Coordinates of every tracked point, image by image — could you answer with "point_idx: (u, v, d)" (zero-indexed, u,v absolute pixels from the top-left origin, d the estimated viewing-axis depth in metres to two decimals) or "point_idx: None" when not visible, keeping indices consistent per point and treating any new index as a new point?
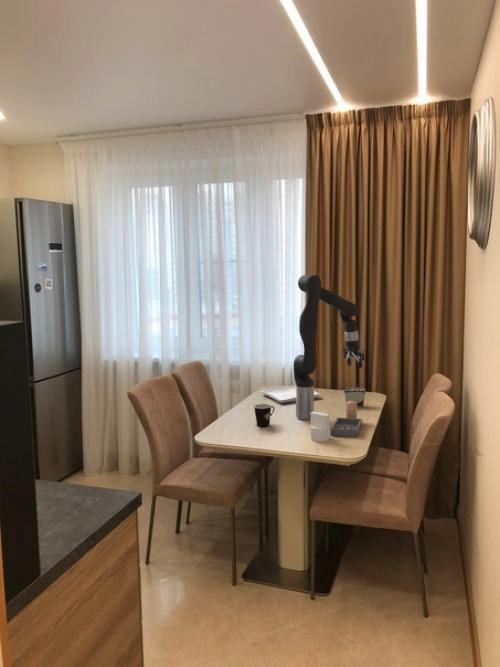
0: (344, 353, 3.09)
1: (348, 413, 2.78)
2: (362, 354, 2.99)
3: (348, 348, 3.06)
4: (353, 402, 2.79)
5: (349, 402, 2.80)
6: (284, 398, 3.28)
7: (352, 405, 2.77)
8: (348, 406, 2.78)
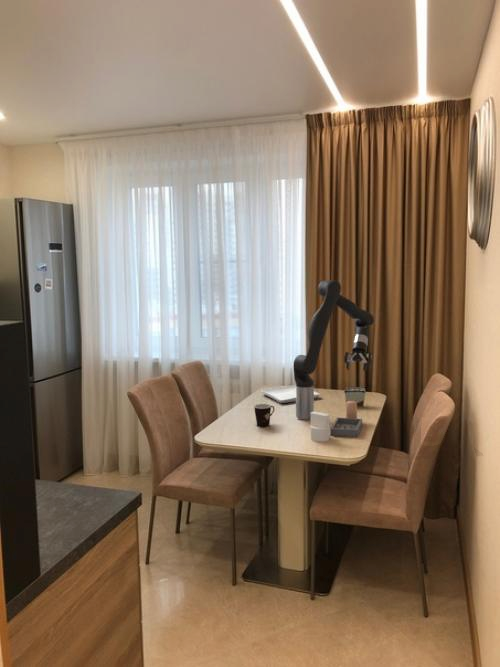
0: (346, 356, 2.93)
1: (348, 413, 2.78)
2: (371, 357, 2.90)
3: (354, 351, 2.94)
4: (353, 402, 2.79)
5: (349, 402, 2.80)
6: (284, 398, 3.28)
7: (352, 405, 2.77)
8: (348, 406, 2.78)
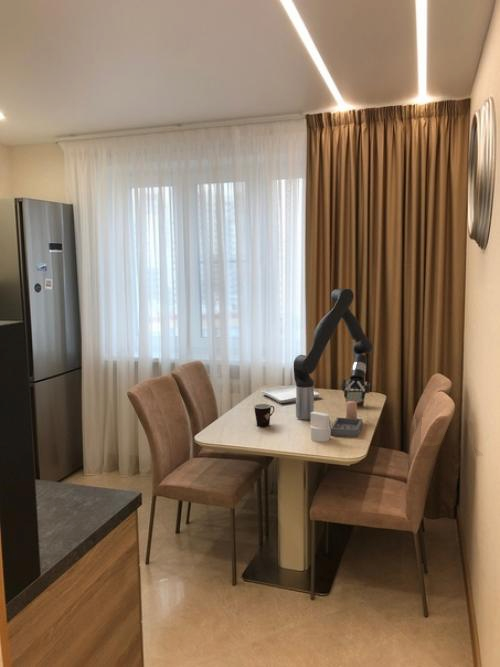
0: (344, 384, 2.90)
1: (348, 413, 2.78)
2: (369, 386, 2.87)
3: (352, 379, 2.91)
4: (353, 402, 2.79)
5: (349, 402, 2.80)
6: (284, 398, 3.28)
7: (352, 405, 2.77)
8: (348, 406, 2.78)
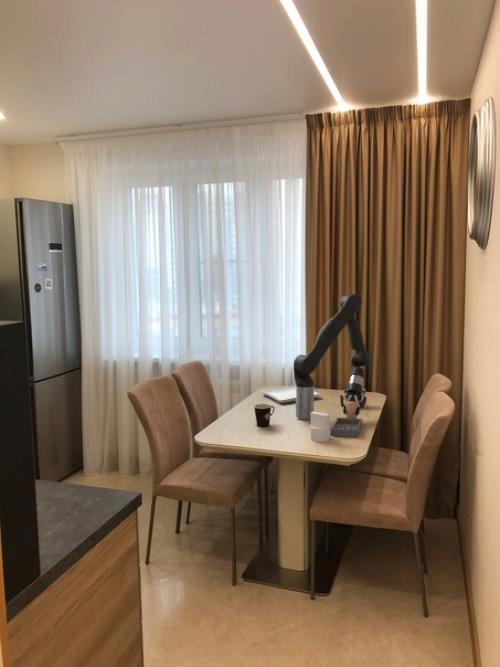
0: (342, 400, 2.84)
1: (348, 413, 2.78)
2: (365, 402, 2.81)
3: (348, 393, 2.85)
4: (353, 402, 2.79)
5: (349, 402, 2.80)
6: (284, 398, 3.28)
7: (352, 405, 2.77)
8: (348, 406, 2.78)
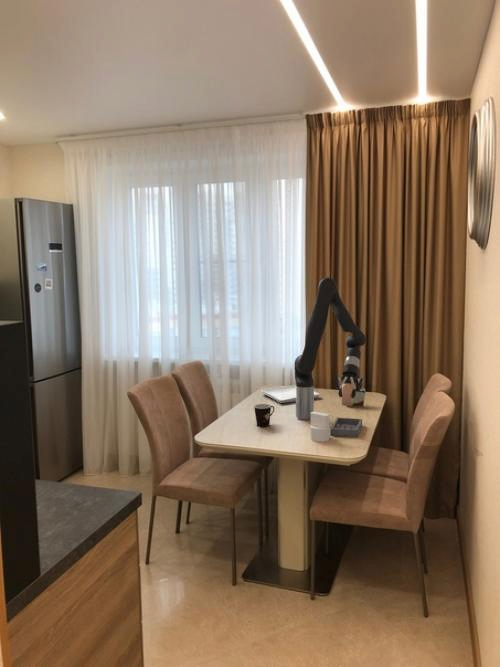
0: (337, 382, 2.69)
1: (344, 395, 2.63)
2: (361, 384, 2.66)
3: (344, 375, 2.70)
4: (349, 384, 2.64)
5: (345, 384, 2.64)
6: (284, 398, 3.28)
7: (348, 387, 2.62)
8: (344, 388, 2.63)
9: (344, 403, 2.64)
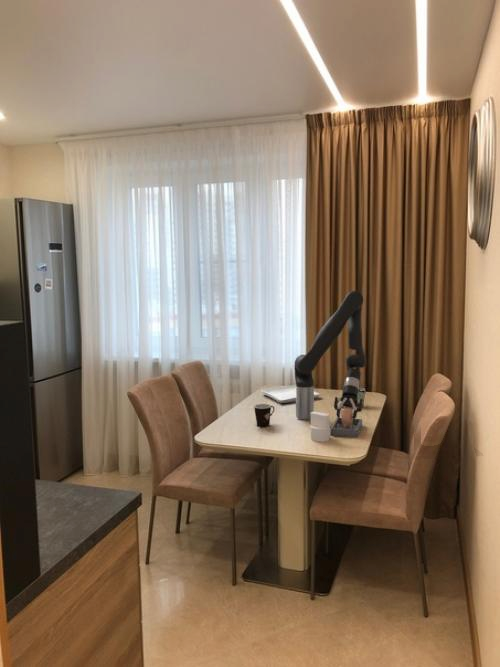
0: (336, 402, 2.70)
1: (343, 420, 2.64)
2: (362, 404, 2.66)
3: (344, 396, 2.70)
4: (349, 408, 2.65)
5: (344, 408, 2.65)
6: (284, 398, 3.28)
7: (348, 411, 2.63)
8: (343, 412, 2.64)
9: None
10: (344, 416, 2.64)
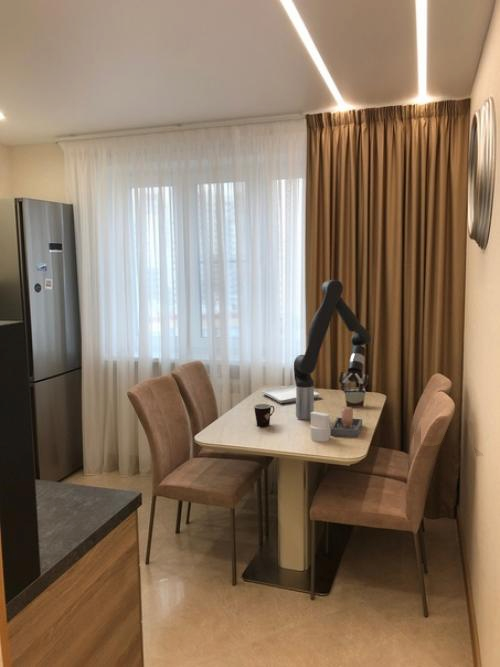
0: (341, 377, 2.80)
1: (343, 420, 2.64)
2: (367, 378, 2.76)
3: (349, 372, 2.80)
4: (349, 408, 2.65)
5: (345, 408, 2.65)
6: (284, 398, 3.28)
7: (348, 411, 2.63)
8: (344, 412, 2.64)
9: None
10: (344, 416, 2.64)
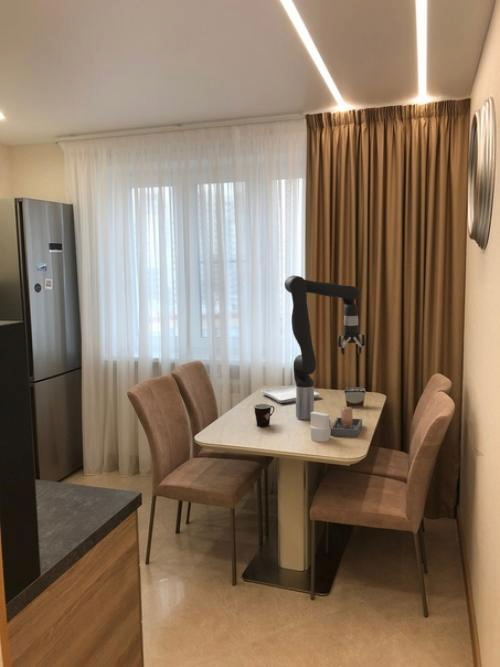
0: (340, 341, 2.89)
1: (343, 420, 2.64)
2: None
3: (347, 335, 2.89)
4: (348, 408, 2.65)
5: (344, 408, 2.65)
6: (284, 398, 3.28)
7: (347, 411, 2.63)
8: (343, 412, 2.64)
9: None
10: (344, 416, 2.64)
